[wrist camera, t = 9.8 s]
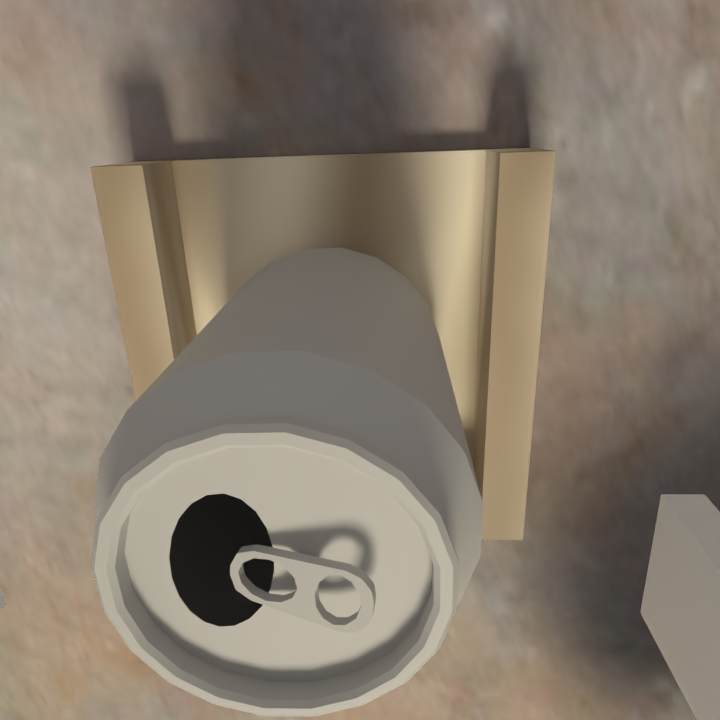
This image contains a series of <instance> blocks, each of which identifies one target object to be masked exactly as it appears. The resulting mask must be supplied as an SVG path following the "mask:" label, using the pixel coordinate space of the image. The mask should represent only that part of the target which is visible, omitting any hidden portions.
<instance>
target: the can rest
mask: <svg viewBox="0 0 720 720" xmlns="http://www.w3.org/2000/svg"><path fill="white" fill-rule="evenodd" d="M555 158H556V151H552V150H544V149H536V148H509V149H480V150H451V151H422V152H394V153H365V154H336V155H307V156H279V157H250V158H221V159H192V160H164V161H135V162H126V163H118V164H110V165H103V166H95V167H90V168H91V173H92V179H93V184H94V189H95V194H96V199H97V204H98V209H99V214H100V219H101V225H102V230H103V235H104V240H105V245H106V250H107V255H108V260H109V265H110V270H111V276H112V281H113V286H114V291H115V296H116V301H117V306H118V311H119V316H120V322H121V327H122V332H123V337H124V342H125V347H126V352H127V357H128V362H129V368H130V373H131V378H132V383H133V388H134V393H135V398H136V400H137V399H138V398H139V397H140V396H141V395H142V394H143V393H144V392H145V391H146V390H147V389H148V388H149V386H150V385H151V384H152V383H153V382H154V381H155V380H156V379H157V378H158V377H159V376H160V375H161V374H162V372H163V371H164V370H165V369H166V368H167V367H168V366H169V365H170V364H171V363H172V362H173V361H174V359H175V358H176V357H177V356H178V355H179V354H180V353H181V352H182V351H183V350H184V349H185V348H186V347H187V345H188V344H189V343H190V342H191V341H192V340H193V339H194V338H195V337H196V336H197V335H198V334H199V333H200V331H201V330H202V329H203V328H204V327H205V326H206V325H207V324H208V323H209V322H210V321H211V320H212V319H213V317H214V316H215V315H216V314H217V313H218V312H219V311H220V310H221V309H222V308H223V307H224V306H225V304H226V303H227V302H228V301H229V300H230V299H231V298H232V297H233V296H234V295H235V294H236V293H237V292H238V290H239V289H240V288H241V287H242V286H243V285H244V284H245V283H246V282H247V281H248V280H250V279H251V278H252V277H253V276H255V275H256V274H257V273H258V272H259V271H261V270H262V269H263V268H264V267H265V266H267V265H268V264H269V263H270V262H272V261H274V260H276V259H279V258H282V257H285V256H287V255H290V254H293V253H295V252H298V251H301V250H303V249H313V248H340V247H342V248H345V249H349V250H352V251H356V252H359V253H363V254H366V255H370V256H374V257H377V258H379V259H380V260H382V261H383V262H385V263H386V264H387V265H389V266H390V267H392V268H393V269H395V270H396V271H398V272H399V273H401V274H402V275H404V276H405V277H407V278H408V279H409V281H410V282H411V283H412V285H413V286H414V287H415V289H416V290H417V291H418V292H419V294H420V295H421V296H422V298H423V299H424V300H425V301H426V303H427V304H428V305H429V308H430V311H431V314H432V317H433V320H434V323H435V326H436V329H437V332H438V335H439V338H440V341H441V345H442V349H443V353H444V357H445V360H446V364H447V368H448V372H449V376H450V379H451V383H452V387H453V391H454V395H455V399H456V402H457V406H458V410H459V414H460V418H461V421H462V425H463V429H464V433H465V437H466V440H467V444H468V448H469V452H470V456H471V459H472V463H473V467H474V471H475V475H476V478H477V482H478V486H479V490H480V494H481V497H482V501H483V522H482V540H523V533H524V521H525V510H526V498H527V486H528V474H529V463H530V451H531V439H532V428H533V416H534V404H535V392H536V381H537V369H538V357H539V345H540V334H541V322H542V310H543V298H544V287H545V275H546V263H547V252H548V240H549V228H550V216H551V205H552V193H553V181H554V169H555Z"/></svg>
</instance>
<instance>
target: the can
mask: <svg viewBox="0 0 720 720" xmlns="http://www.w3.org/2000/svg"><path fill="white" fill-rule="evenodd" d="M94 512H95V516H96V527H95V535H94V543H93V551H92V558H91V567H92V571H93V575H94V578H95V582H96V586H97V590H98V594H99V597H100V601H101V605H102V609H103V610H104V612H105V613H106V615H107V616H108V618H109V619H110V621H111V622H112V624H113V625H114V627H115V628H116V630H117V631H118V633H119V634H120V636H121V637H122V639H123V640H124V642H125V643H126V644H127V646H128V647H129V649H130V650H131V651H132V652H133V653H134V654H136V655H137V656H138V657H139V658H140V659H142V660H143V661H144V662H145V663H146V664H148V665H149V666H150V667H151V668H152V669H154V670H155V671H156V672H157V673H158V674H160V675H161V676H162V677H163V678H164V679H165V680H167V681H168V682H169V683H171V684H173V685H175V686H177V687H179V688H181V689H183V690H185V691H188V692H190V693H192V694H194V695H196V696H198V697H200V698H202V699H204V700H206V701H208V702H210V703H212V704H214V705H219V706H223V707H227V708H231V709H236V710H240V711H244V712H249V713H253V714H257V715H262V716H318V715H323V714H327V713H331V712H336V711H340V710H345V709H349V708H353V707H358V706H362V705H364V704H366V703H368V702H370V701H372V700H374V699H376V698H378V697H380V696H381V695H383V694H385V693H387V692H389V691H391V690H393V689H395V688H397V687H398V686H400V685H402V684H404V683H406V682H408V681H409V680H410V679H411V677H412V676H413V675H414V674H415V673H416V672H417V671H418V670H419V669H420V668H421V667H422V666H423V665H424V664H425V663H426V662H427V661H428V660H429V659H430V658H431V657H432V656H433V655H434V654H435V653H436V652H437V651H438V650H439V649H440V647H441V644H442V642H443V640H444V638H445V635H446V633H447V631H448V629H449V626H450V624H451V622H452V620H453V617H454V615H455V613H456V611H457V608H458V603H459V602H460V601H461V599H462V597H463V595H464V593H465V590H466V588H467V586H468V584H469V581H470V579H471V577H472V575H473V572H474V570H475V568H476V566H477V563H478V561H479V559H480V557H481V547H482V522H483V501H482V497H481V494H480V490H479V486H478V482H477V478H476V475H475V471H474V467H473V463H472V459H471V456H470V452H469V448H468V444H467V440H466V437H465V433H464V429H463V425H462V421H461V418H460V414H459V410H458V406H457V402H456V399H455V395H454V391H453V387H452V383H451V379H450V376H449V372H448V368H447V364H446V360H445V357H444V353H443V349H442V345H441V341H440V338H439V335H438V332H437V329H436V326H435V323H434V320H433V317H432V314H431V311H430V308H429V305H428V304H427V303H426V301H425V300H424V299H423V298H422V296H421V295H420V294H419V292H418V291H417V290H416V289H415V287H414V286H413V285H412V283H411V282H410V281H409V279H408V278H407V277H405V276H404V275H402V274H401V273H399V272H398V271H396V270H395V269H393V268H392V267H390V266H389V265H387V264H386V263H385V262H383V261H382V260H380V259H379V258H377V257H374V256H370V255H366V254H363V253H359V252H356V251H352V250H349V249H345V248H342V247H340V248H313V249H303V250H301V251H298V252H295V253H293V254H290V255H287V256H285V257H282V258H279V259H276V260H274V261H272V262H270V263H269V264H268V265H267V266H265V267H264V268H263V269H262V270H261V271H259V272H258V273H257V274H256V275H255V276H253V277H252V278H251V279H250V280H248V281H247V282H246V283H245V284H244V285H243V286H242V287H241V288H240V289H239V290H238V292H237V293H236V294H235V295H234V296H233V297H232V298H231V299H230V300H229V301H228V302H227V303H226V304H225V306H224V307H223V308H222V309H221V310H220V311H219V312H218V313H217V314H216V315H215V316H214V317H213V319H212V320H211V321H210V322H209V323H208V324H207V325H206V326H205V327H204V328H203V329H202V330H201V331H200V333H199V334H198V335H197V336H196V337H195V338H194V339H193V340H192V341H191V342H190V343H189V344H188V345H187V347H186V348H185V349H184V350H183V351H182V352H181V353H180V354H179V355H178V356H177V357H176V358H175V359H174V361H173V362H172V363H171V364H170V365H169V366H168V367H167V368H166V369H165V370H164V371H163V372H162V374H161V375H160V376H159V377H158V378H157V379H156V380H155V381H154V382H153V383H152V384H151V385H150V386H149V388H148V389H147V390H146V391H145V392H144V393H143V394H142V395H141V396H140V397H139V398H138V399H137V400H136V402H135V403H134V404H133V405H132V406H131V407H130V408H129V409H128V410H127V411H126V413H125V415H124V417H123V419H122V420H121V422H120V424H119V426H118V427H117V429H116V431H115V433H114V434H113V436H112V438H111V440H110V441H109V443H108V445H107V447H106V448H105V450H104V452H103V454H102V455H101V457H100V463H99V471H98V479H97V486H96V494H95V502H94Z"/></svg>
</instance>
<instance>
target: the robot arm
mask: <svg viewBox="0 0 720 720" xmlns="http://www.w3.org/2000/svg"><path fill="white" fill-rule="evenodd" d="M5 605H6V602H5V599H4V596H3V593H2V589H1V586H0V611H1V609H2V608H3V607H4V606H5ZM640 613H641V615H642V617H643V619H644V621H645V623H646V624H647V626H648V628H649V630H650V632H651V634H652V636H653V638H654V640H655V642H656V644H657V645H658V647H659V649H660V651H661V653H662V655H663V657H664V659H665V661H666V663H667V665H668V666H669V668H670V670H671V672H672V674H673V676H674V678H675V680H676V682H677V684H678V686H679V687H680V689H681V691H682V693H683V695H684V697H685V699H686V701H687V703H688V705H689V707H690V708H691V710H692V712H693V714H694V716H695V718H696V720H720V511H719V510H718V509H717V508H716V507H715V506H714V504H713V503H712V502H711V501H710V500H709V499H708V498H707V496H706V495H705V494H661V498H660V503H659V509H658V515H657V520H656V526H655V532H654V537H653V543H652V549H651V554H650V560H649V566H648V571H647V577H646V583H645V589H644V594H643V600H642V606H641V611H640Z"/></svg>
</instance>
